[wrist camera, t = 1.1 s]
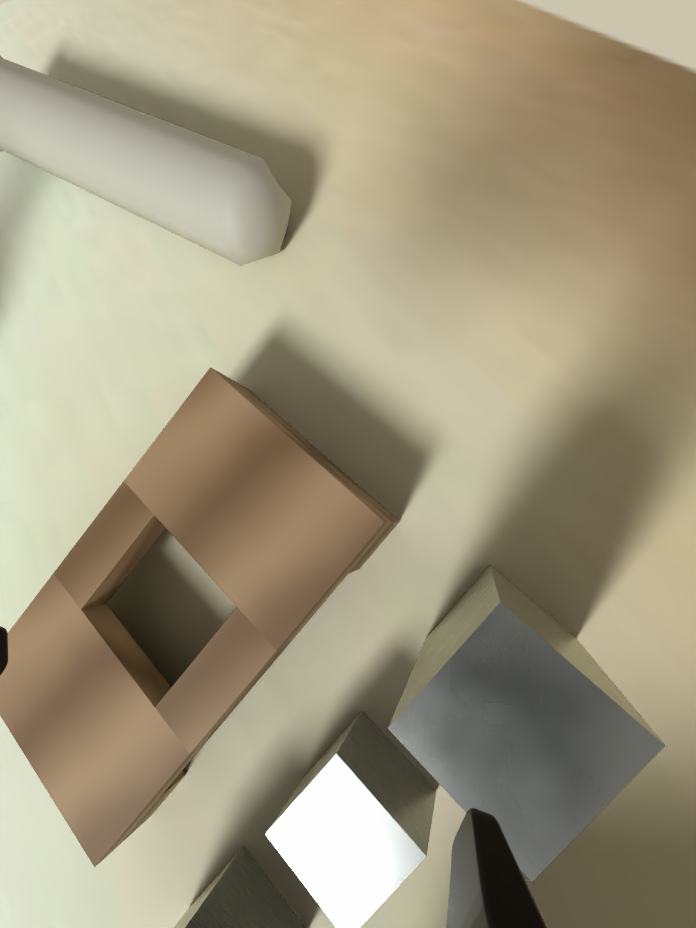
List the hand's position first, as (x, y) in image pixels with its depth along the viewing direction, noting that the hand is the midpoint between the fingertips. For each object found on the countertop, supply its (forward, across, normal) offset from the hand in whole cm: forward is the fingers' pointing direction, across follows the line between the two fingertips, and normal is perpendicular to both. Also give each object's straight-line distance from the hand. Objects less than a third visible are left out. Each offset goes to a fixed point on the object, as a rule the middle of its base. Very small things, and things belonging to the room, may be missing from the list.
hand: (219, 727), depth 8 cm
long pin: (+12, -8, +4) cm, 15 cm away
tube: (+23, +19, -12) cm, 33 cm away
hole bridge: (+13, +7, +8) cm, 17 cm away
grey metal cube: (+9, -4, +12) cm, 16 cm away
